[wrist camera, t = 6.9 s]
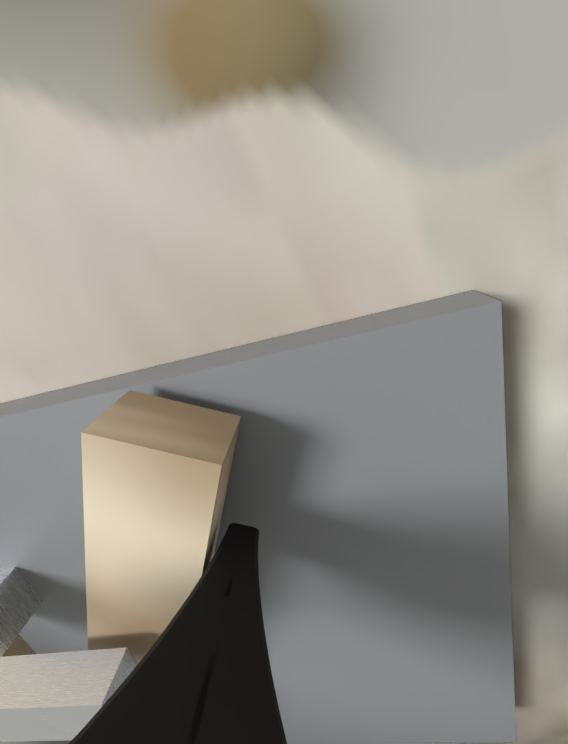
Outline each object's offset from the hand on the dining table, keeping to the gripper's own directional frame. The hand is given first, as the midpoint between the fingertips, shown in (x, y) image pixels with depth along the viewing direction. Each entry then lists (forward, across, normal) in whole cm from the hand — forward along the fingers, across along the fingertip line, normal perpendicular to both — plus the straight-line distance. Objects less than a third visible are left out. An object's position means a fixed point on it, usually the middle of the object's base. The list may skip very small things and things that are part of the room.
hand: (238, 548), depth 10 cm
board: (+3, 0, +5) cm, 6 cm away
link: (+1, +2, +4) cm, 5 cm away
